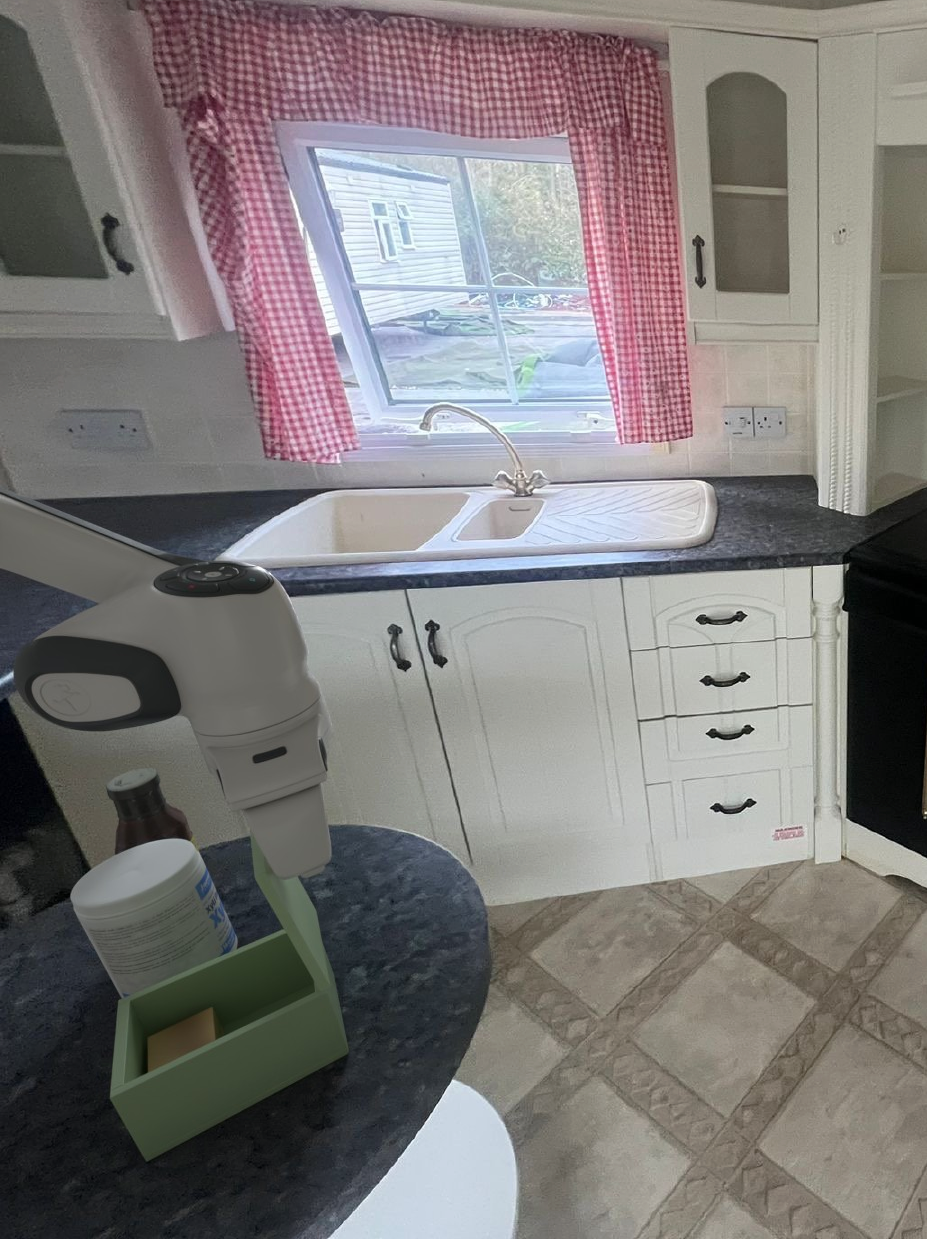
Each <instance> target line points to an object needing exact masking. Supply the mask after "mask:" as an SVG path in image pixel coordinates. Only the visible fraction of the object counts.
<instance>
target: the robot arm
mask: <svg viewBox="0 0 927 1239" xmlns="http://www.w3.org/2000/svg"><path fill="white" fill-rule="evenodd" d="M0 569H1V570H5V571H7V572H11V573H14V574H17V575H20V576H22V577H25V578H28V579H31V580H34V581H36V582H39V583H42V584H43V585H47V586H49V587H53V588H56V589H58V590H61V591H64V592H67V593H69V594H72V595H75V596H77V597H81V598H83V599H85V600H88V601H91V602H94V603H97V604H95V605H94V606H92V607H90V608H87V609H84V610H83V611H81V612H79V613H77V614H75V615H73V616H71V617H69V618H67V619H66V620H64V621H62V622H60V623H58V624H57V625H54V626H53V627H51V628H50V629H47V630H46V631H45V632H43V633H41V634H40V635H38V636H37V637H35V638H34V639H33V640H32V641H29V642H28V643H27V644H25V645H24V646H23V647H22V648H21V649H20V650H19V652H18V653H17V655H16V656H15V659H14V664H13V673H12V674H13V681H14V684H15V688H16V690H17V692H18V694H19V696H20V697H21V699H22V700H23V702H24V703H25V704H26V705H27V706H28V707H29V709H30V710H32V711H33V712H34V713H35V714H36V715H37V716H39V717H40V718H42V719H44V720H46V721H47V722H48V723H51V724H54V725H56V726H58V727H62V728H65V729H69V730H74V731H82V732H91V733H92V732H94V733H95V732H99V733H100V732H113V731H119V730H126V729H132V728H136V727H137V728H138V727H143V726H147V725H151V724H156V723H157V724H158V723H160V722H164V721H167V720H170V719H171V718H173V717H184V718H186V719H187V720H188V721H189V724H190V726H191V730H192V732H193V734H194V737H195V739H196V743H197V744H198V748H199V749H200V752H201V755H202V757H203V760H204V762H205V765H206V767H207V769H208V772H209V773H210V775H212V776H213V777H214V778H215V779H216V780H217V782H218V783H219V784H220V786H221V790H222V793H223V796H224V799H225V801H226V803H227V806H228V808H229V810H230V811H231V812H235V813H236V812H239V811H241V813H242V815H243V818H244V819H245V822H246V824H247V826H248V828H249V831H250V830H251V832H252V834H253V836H254V838H255V840H256V842H257V844H258V845H259V847H260V849H261V851H262V853H263V855H264V857H265V858H266V860H267V862H268V864H269V865H270V867H271V869H272V870H273V872H274V873H275V874H276V875H277V876H278V877H279V878H280V879H282V880H288V879H291V878H294V877H297V876H298V877H299V876H300V877H301V878H302V879H308V878H311V877H313V876H316V875H318V874H322V873H323V872H324V871H325V869H326V865H327V864H329V863H330V862H331V859H332V852H333V850H332V842H331V836H330V828H329V821H328V815H327V809H326V802H325V801H326V800H325V794H324V793H325V792H324V782H326V781H327V780H328V779H329V775H328V771H329V769H328V752H329V749H330V743H331V741H332V739H333V737H334V734H335V732H334V726H333V723H332V720H331V717H330V712H329V710H328V707H327V703H326V700H325V697H324V694H323V691H322V688H321V685H320V682H318V680H317V679H316V677H315V676H314V675H313V674H312V672H311V671H310V667H309V646H308V642H307V639H306V636H305V633H304V630H303V627H302V625H301V624H302V623H301V621H300V619H299V617H298V614H297V611H296V609H295V607H294V604H293V602H292V600H291V597H290V596H289V594H288V593H287V590H286V589H285V588H284V586H283V585H282V584H281V582H280V581H279V580H278V579H277V578H276V577H275V576H274V574H272V573H271V572H270V571H269V570H267V569H265V568H264V567H262V566H259V565H256V564H253V563H247V562H243V561H236V560H204V559H199V558H194V557H189V556H185V555H184V556H183V555H179V554H174V553H170V552H167V551H163V550H160V549H157V548H155V547H152V546H150V545H146V544H143V543H141V542H139V541H135V540H133V539H132V538H129V537H127V536H123V535H122V534H119V533H116V532H113V531H111V530H108V529H106V528H103V527H102V526H99V525H96V524H94V523H91V522H89V521H86V520H84V519H81V518H79V517H76V516H74V515H71V514H69V513H66V512H65V511H61V510H59V509H56V508H54V507H52V506H50V505H47V504H44V503H42V502H39V501H37V500H35V499H32V498H29V497H26V496H24V495H21V494H19V493H16V492H13V491H11V490H8V489H5V488H2V487H0Z"/></svg>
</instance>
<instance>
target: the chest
mask: <svg viewBox="0 0 927 1239" xmlns="http://www.w3.org/2000/svg"><path fill="white" fill-rule="evenodd" d="M322 944H323V949H324V955H325V960H326V965H327V971H328V976H329V981H330V987H328V988H327V989H325V990H323V991H321V992H320V990H319V988H318V987H317V985H316V983H315V981H314V980H313V978H312V976H311V975H310V973H309V971H308V969H307V968H306V966H305V964H304V962H303V961H302V959H301V957H300V956H299V954H298V952H297V950H296V949H295V947H294V945H293V943H292V942H291V940H290V938H289V937H288V935H287V933H286V931H285V930H284V928H283V929H280V930H278V931H276V932H273V933H271V934H269V935H266V936H265V937H261V938H259V939H257V940H255V941H253V942H250V943H248V944H246V945H243V946H241V947H239V948H237V949H236V950H234V951H232V952H229V953H227V954H225V955H222V956H220V957H218V958H215V959H213V960H211V961H208V962H206V963H204V964H201V965H199V966H197V967H194V968H192V969H190V970H187V971H185V972H183V973H180V974H178V975H176V976H173V977H171V978H169V979H167V980H164V981H162V982H160V983H157V984H155V985H153V986H150V987H148V988H146V989H143V990H141V991H139V992H136V993H134V994H132V995H129V996H127V997H125V998H120V999H119V1000H118V1001H117V1010H116V1011H117V1012H116V1022H115V1023H116V1024H115V1034H114V1035H115V1036H114V1044H113V1057H112V1067H111V1068H112V1069H111V1080H110V1091H109V1092H110V1093H109V1100H110V1102H111V1103H112V1105H113V1107H114V1108H115V1110H116V1112H117V1113H118V1115H119V1117H120V1119H121V1120H122V1122H123V1124H124V1126H125V1127H126V1129H127V1131H128V1133H129V1134H130V1136H131V1138H132V1140H133V1141H134V1143H135V1145H136V1147H137V1149H138V1151H139V1152H140V1154H141V1155H142V1157H143V1158H144V1160H145V1162H150V1161H152V1160H153V1159H156V1158H158V1157H159V1156H160V1155H162V1154H164V1153H166V1152H169V1151H170V1150H172V1149H174V1148H175V1147H178V1146H180V1145H181V1144H183V1143H185V1142H187V1141H188V1140H191V1139H192V1138H194V1137H196V1136H198V1135H200V1134H201V1133H203V1132H205V1131H207V1130H209V1129H211V1128H212V1127H214V1126H216V1125H218V1124H220V1123H222V1122H224V1121H226V1120H227V1119H230V1118H231V1117H233V1116H235V1115H237V1114H239V1113H241V1112H242V1111H244V1110H246V1109H248V1108H250V1107H252V1106H254V1105H255V1104H257V1103H259V1102H261V1101H263V1100H265V1099H266V1098H268V1097H270V1096H272V1095H274V1094H276V1093H278V1092H279V1091H282V1090H284V1089H286V1088H287V1087H289V1086H291V1085H293V1084H295V1083H296V1082H298V1081H300V1080H302V1079H304V1078H306V1077H307V1076H309V1075H311V1074H313V1073H315V1072H316V1071H319V1070H320V1069H322V1068H324V1067H326V1066H328V1065H330V1064H331V1063H334V1062H336V1061H337V1060H339V1059H341V1058H343V1057H345V1056H347V1055H348V1054H349V1053H350V1050H349V1045H348V1040H347V1035H346V1028H345V1025H344V1019H343V1014H342V1009H341V1004H340V998H339V994H338V988H337V983H336V977H335V973H334V971H333V968H332V965H331V963H330V959H329V956H328V954H327V950H326V948H325V945H324V943H323V942H322ZM211 1007H213V1009H214V1011H215V1013H216V1015H217V1017H218V1020H219V1022H220V1024H221V1026H222V1028H223V1030H224V1033H225V1036H223V1037H221V1038H219V1039H217V1040H215V1041H213V1042H211V1043H209V1044H207V1045H205V1046H203V1047H201V1048H198V1049H196V1050H194V1051H192V1052H190V1053H188V1054H186V1055H184V1056H182V1057H180V1058H178V1059H176V1060H174V1061H172V1062H169V1063H167V1064H165V1065H163V1066H161V1067H159V1068H157V1069H155V1070H153V1071H151V1072H149V1073H148V1043H147V1038H148V1037H150V1036H152V1035H154V1034H156V1033H158V1032H160V1031H162V1030H164V1029H167V1028H169V1027H171V1026H173V1025H175V1024H177V1023H179V1022H181V1021H183V1020H185V1019H188V1018H190V1017H192V1016H194V1015H196V1014H198V1013H200V1012H202V1011H204V1010H206V1009H208V1008H211Z"/></svg>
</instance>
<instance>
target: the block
mask: <svg viewBox="0 0 927 1239" xmlns="http://www.w3.org/2000/svg"><path fill="white" fill-rule="evenodd" d="M223 1036H225V1033H224V1030H223V1028H222V1026H221V1024H220V1022H219V1020H218V1017H217V1015H216V1013H215V1011H214V1009H213V1007H211V1008H208V1009H206V1010H204V1011H202V1012H200V1013H198V1014H196V1015H194V1016H192V1017H190V1018H188V1019H185V1020H183V1021H181V1022H179V1023H177V1024H175V1025H173V1026H171V1027H169V1028H167V1029H164V1030H162V1031H160V1032H158V1033H156V1034H154V1035H152V1036H150V1037H148V1038H147V1043H148V1073H149V1072H151V1071H153V1070H155V1069H157V1068H159V1067H161V1066H163V1065H165V1064H167V1063H169V1062H172V1061H174V1060H176V1059H178V1058H180V1057H182V1056H184V1055H186V1054H188V1053H190V1052H192V1051H194V1050H196V1049H198V1048H201V1047H203V1046H205V1045H207V1044H209V1043H211V1042H213V1041H215V1040H217V1039H219V1038H221V1037H223Z"/></svg>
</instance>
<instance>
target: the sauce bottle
mask: <svg viewBox="0 0 927 1239" xmlns="http://www.w3.org/2000/svg"><path fill="white" fill-rule="evenodd" d="M160 784H161V778H160V775H159V773H158V771H157V770H156V769H154V768H149V767H144V768H138V769H132V770H130V771H126V772H124V773H122V774H119V775H117V776H115V777H114V778H112V779H111V780H109V781H108V783H107V784H106V785H105V789H106V794H107V797H108V798H109V799H110V800H111V801H112V802H113V805H114V807H115V810H116V813H117V816H116V817H117V818H118V823H117V827H116V830H115V845H114V856H115V855H117V854H119V853H121V852H123V851H126V850H128V849H131V848H133V847H136V846H139V845H142V844H146V843H149V842H153V841H158V840H164V839H183V840H187V841H190V842H191V843H192V844H193V845H194V846H195V848H196V850H197V851H198V852H199V853H200V850H199V846H198V844H197V842H196V839H195V836H194V833H193V831H192V830H191V828H190V825H189V821H188V818H187V816H186V814H185V813H184V811H182V810H181V809H179V808H177V807H175V806H172V805H171V804H169V803H168V802H167V799H166V797H164V793H163V791H162V789H161V786H160Z"/></svg>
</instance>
